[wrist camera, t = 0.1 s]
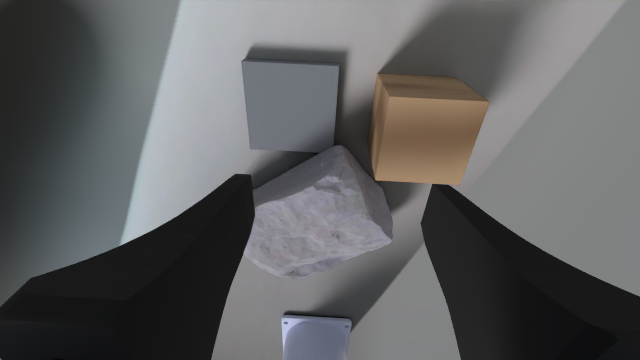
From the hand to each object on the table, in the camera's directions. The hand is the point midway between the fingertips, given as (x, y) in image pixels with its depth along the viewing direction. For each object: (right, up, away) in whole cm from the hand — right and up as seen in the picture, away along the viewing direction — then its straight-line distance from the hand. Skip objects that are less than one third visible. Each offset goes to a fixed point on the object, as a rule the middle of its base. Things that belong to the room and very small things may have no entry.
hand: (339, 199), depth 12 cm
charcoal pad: (-3, +6, +8) cm, 10 cm away
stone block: (-1, -2, +13) cm, 13 cm away
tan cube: (+5, +5, +8) cm, 11 cm away
